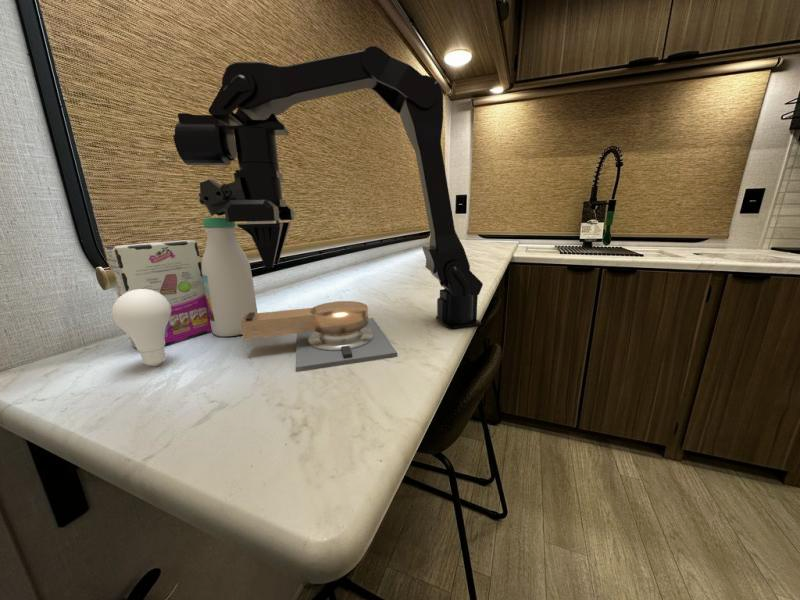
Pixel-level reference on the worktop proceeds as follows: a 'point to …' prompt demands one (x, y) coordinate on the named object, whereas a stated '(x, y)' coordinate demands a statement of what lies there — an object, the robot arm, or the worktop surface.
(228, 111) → the robot arm
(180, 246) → the candy bar box
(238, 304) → the milk bottle
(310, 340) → the white disc
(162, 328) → the lightbulb
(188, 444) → the worktop surface
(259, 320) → the door handle
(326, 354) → the mat
